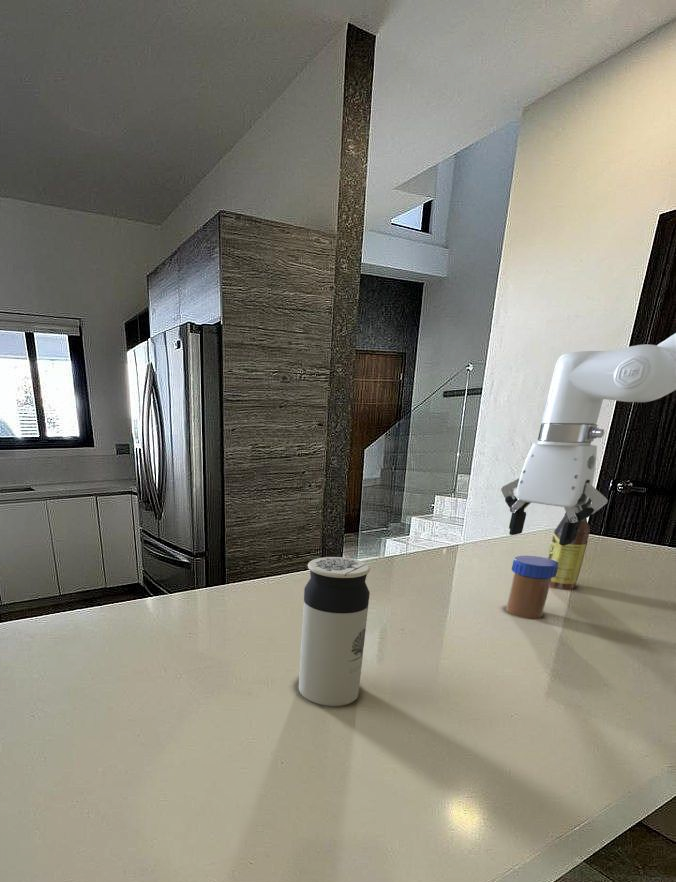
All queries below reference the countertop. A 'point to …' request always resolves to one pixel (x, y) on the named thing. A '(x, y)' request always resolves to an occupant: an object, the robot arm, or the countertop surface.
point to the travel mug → (333, 630)
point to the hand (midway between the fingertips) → (539, 538)
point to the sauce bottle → (569, 553)
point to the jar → (528, 596)
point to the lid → (535, 567)
